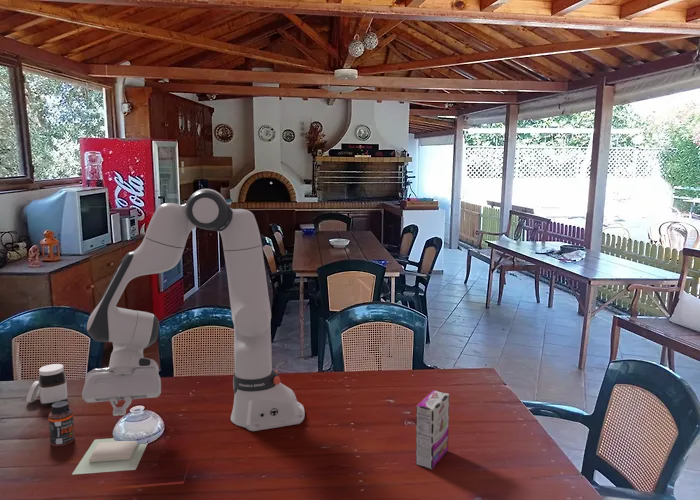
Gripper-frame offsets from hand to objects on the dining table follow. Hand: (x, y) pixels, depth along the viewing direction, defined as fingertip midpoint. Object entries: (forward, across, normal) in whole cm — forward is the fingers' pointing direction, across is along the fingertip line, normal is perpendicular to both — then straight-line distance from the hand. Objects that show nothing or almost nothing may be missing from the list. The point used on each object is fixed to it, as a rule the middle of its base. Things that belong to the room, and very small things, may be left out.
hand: (118, 414), depth 139 cm
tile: (+6, -1, +6) cm, 8 cm away
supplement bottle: (+3, -17, +10) cm, 20 cm away
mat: (+10, -1, +3) cm, 10 cm away
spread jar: (-17, -31, +30) cm, 46 cm away
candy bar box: (+21, +82, -5) cm, 85 cm away
